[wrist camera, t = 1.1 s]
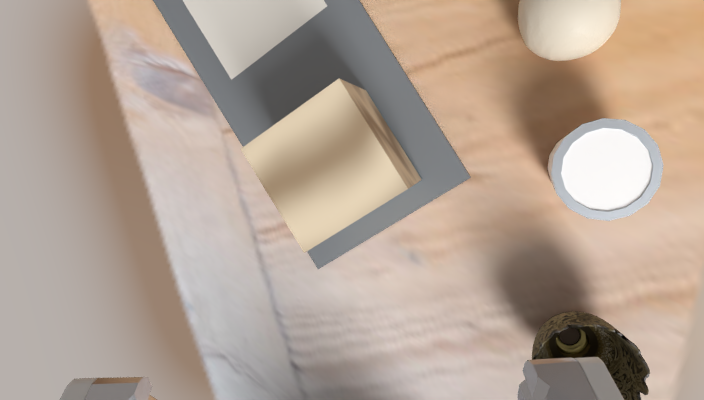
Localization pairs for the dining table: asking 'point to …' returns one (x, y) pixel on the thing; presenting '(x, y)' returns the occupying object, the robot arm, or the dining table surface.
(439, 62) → the dining table surface
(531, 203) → the dining table surface
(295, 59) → the charcoal mat
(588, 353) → the cup
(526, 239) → the dining table surface
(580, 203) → the white cylindrical piece
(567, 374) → the robot arm
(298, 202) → the maple cube
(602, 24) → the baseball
